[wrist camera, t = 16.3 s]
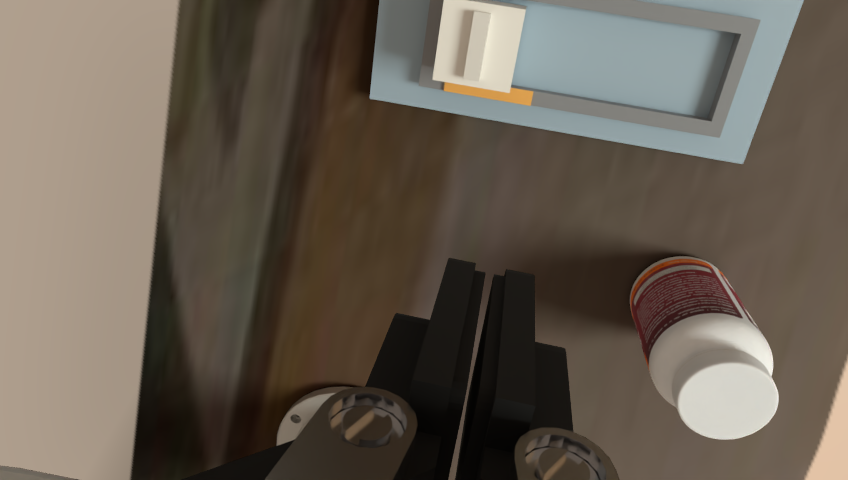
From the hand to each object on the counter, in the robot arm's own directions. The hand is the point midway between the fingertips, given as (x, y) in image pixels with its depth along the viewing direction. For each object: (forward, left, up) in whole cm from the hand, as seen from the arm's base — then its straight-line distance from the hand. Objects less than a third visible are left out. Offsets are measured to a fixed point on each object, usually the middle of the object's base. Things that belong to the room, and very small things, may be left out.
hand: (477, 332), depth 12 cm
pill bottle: (-11, -13, -27) cm, 32 cm away
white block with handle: (+3, +2, -26) cm, 26 cm away
